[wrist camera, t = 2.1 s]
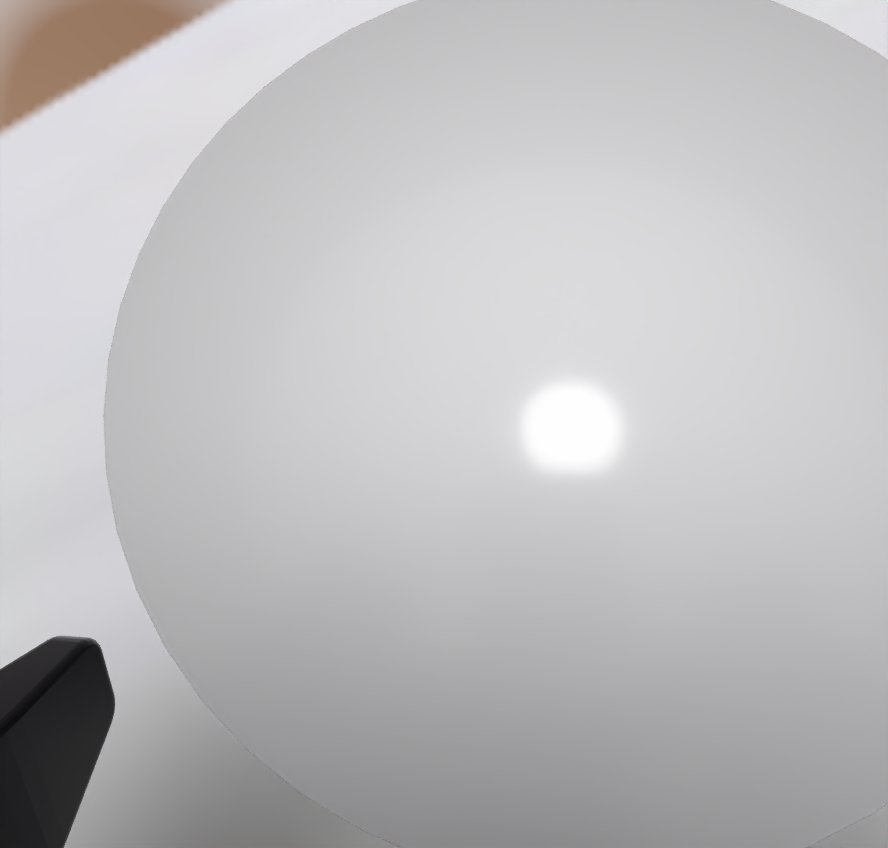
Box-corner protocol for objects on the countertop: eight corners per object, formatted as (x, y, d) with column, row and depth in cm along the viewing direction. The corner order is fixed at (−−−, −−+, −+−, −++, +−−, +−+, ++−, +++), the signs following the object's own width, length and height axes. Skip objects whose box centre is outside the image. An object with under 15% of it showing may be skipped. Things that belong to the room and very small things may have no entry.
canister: (596, 791, 16) (823, 1164, 3) (380, 653, 18) (-81, 522, 4) (712, 566, 17) (1236, 171, 4) (501, 451, 19) (413, -129, 6)
